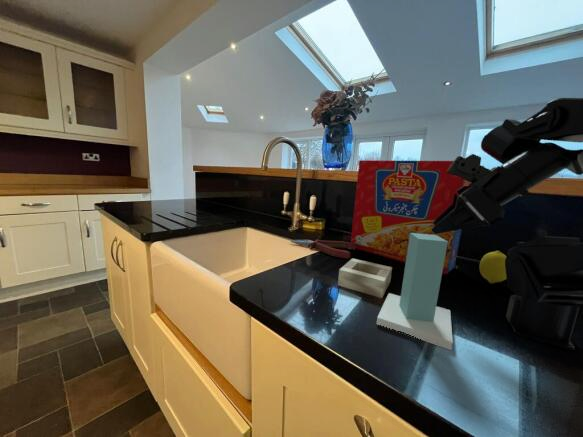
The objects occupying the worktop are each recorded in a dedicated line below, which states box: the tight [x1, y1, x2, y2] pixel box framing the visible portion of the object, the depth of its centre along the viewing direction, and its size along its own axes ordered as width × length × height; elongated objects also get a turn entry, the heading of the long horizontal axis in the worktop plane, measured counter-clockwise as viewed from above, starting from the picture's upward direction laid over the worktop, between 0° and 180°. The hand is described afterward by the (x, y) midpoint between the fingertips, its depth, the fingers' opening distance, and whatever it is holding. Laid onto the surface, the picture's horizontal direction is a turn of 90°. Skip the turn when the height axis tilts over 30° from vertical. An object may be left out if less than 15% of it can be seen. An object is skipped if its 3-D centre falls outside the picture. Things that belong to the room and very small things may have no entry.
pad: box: [376, 292, 454, 351], centre depth 40 cm, size 10×10×1 cm
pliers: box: [290, 239, 357, 259], centre depth 77 cm, size 12×20×3 cm, turn 66°
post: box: [399, 233, 448, 322], centre depth 39 cm, size 4×4×13 cm
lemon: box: [479, 250, 507, 284], centre depth 57 cm, size 6×6×8 cm
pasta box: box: [350, 159, 471, 275], centre depth 72 cm, size 28×8×28 cm, turn 44°
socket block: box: [337, 258, 393, 299], centre depth 53 cm, size 9×9×4 cm
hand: (433, 227), depth 49 cm, fingers open, 9 cm apart
